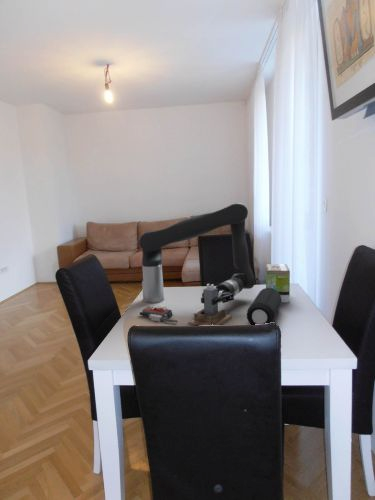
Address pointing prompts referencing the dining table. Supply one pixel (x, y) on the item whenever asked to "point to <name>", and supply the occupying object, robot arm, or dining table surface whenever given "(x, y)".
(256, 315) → the portable speaker
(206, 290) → the connector plug
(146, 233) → the robot arm
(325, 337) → the dining table surface
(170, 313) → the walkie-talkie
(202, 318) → the tray
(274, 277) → the tea box
